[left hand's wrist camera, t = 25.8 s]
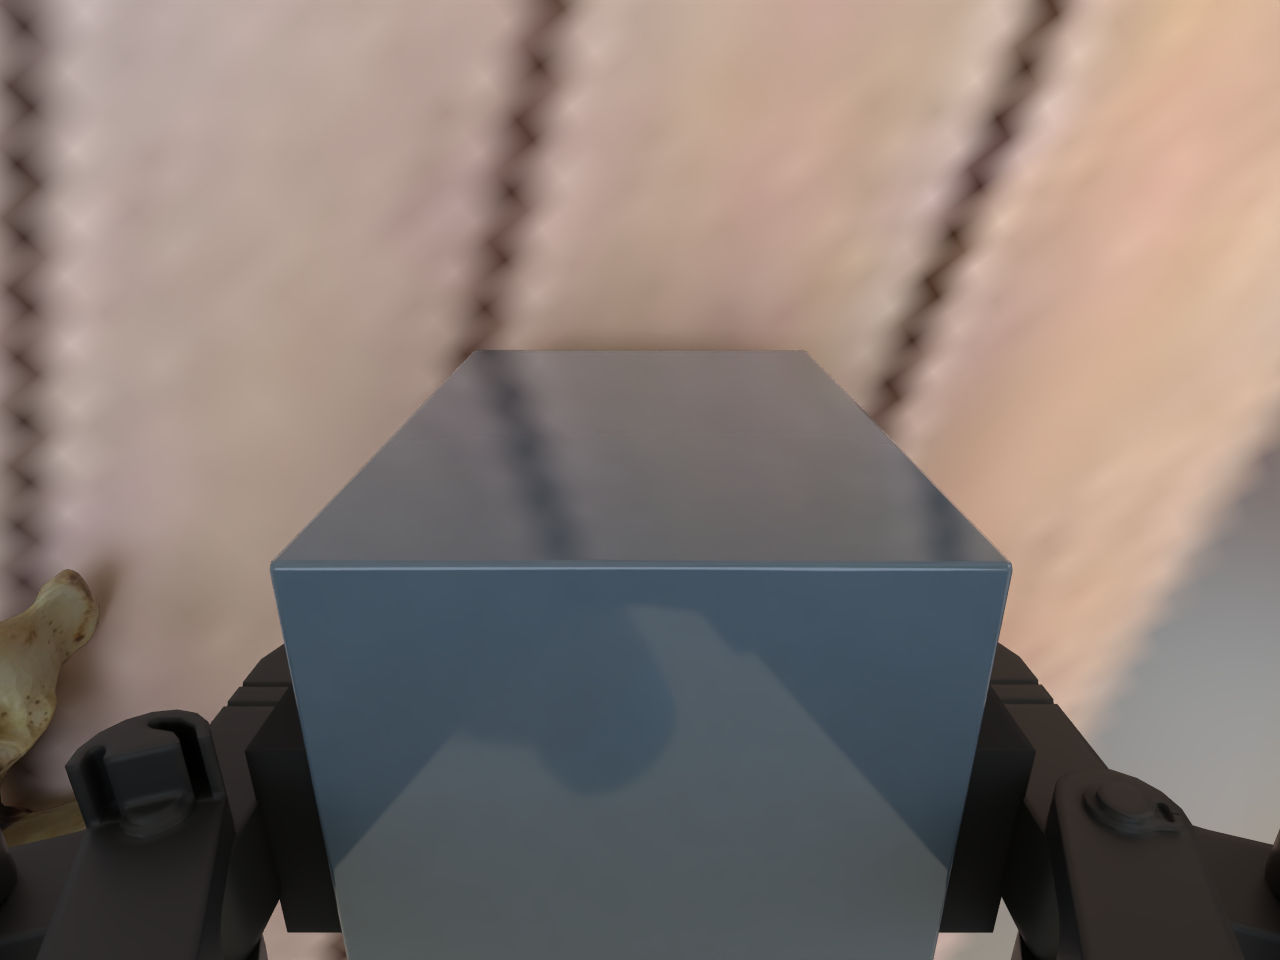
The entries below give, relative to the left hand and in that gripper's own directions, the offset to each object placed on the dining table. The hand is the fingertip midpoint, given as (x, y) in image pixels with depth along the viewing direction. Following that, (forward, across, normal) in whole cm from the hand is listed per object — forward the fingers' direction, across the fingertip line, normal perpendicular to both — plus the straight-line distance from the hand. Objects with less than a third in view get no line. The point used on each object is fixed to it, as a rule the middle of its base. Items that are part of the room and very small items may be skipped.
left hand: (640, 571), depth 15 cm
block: (+3, 0, 0) cm, 3 cm away
